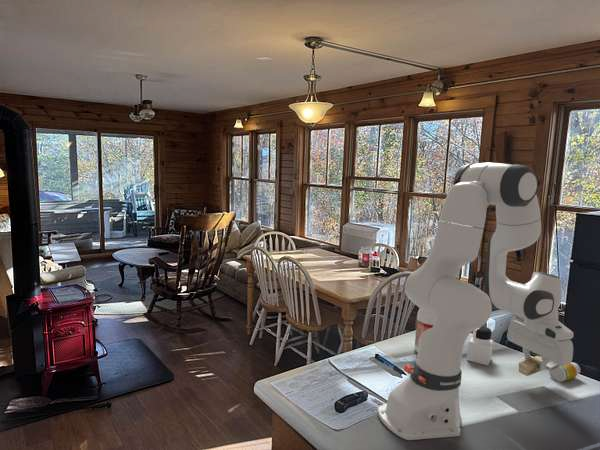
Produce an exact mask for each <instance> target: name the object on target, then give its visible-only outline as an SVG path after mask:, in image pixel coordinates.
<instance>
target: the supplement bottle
mask: <svg viewBox="0 0 600 450" xmlns="http://www.w3.org/2000/svg"><path fill="white" fill-rule="evenodd" d="M580 373H581V367H580V365H579V364H578V363H576V362H571V363H570V364H569V365H565V366H561V367H558V368H556V369H553V370H551V371H550V370H548V374H549V376H550V377H551V379H552V380H555V381H558V382H560V383H563V382H567V381H569V380H572V379H575V378H577V376H578V375H579V374H580Z"/></svg>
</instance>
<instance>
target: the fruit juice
mask: <svg viewBox="0 0 600 450" xmlns="http://www.w3.org/2000/svg"><path fill="white" fill-rule="evenodd" d="M434 322H435V316H434V315H433V314H431V313H429V312H427V311H425V310H423V309H421V308H419V309H418V311H417V315H416V328H415V339H414V350H415V352H416V353H418V346H419V337H420V335H421V334H422V333H423V332H424V331H426V330H428V329H430V328H432V327H433V325H434Z"/></svg>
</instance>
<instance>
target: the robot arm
mask: <svg viewBox="0 0 600 450" xmlns="http://www.w3.org/2000/svg"><path fill="white" fill-rule="evenodd" d="M538 189H539V179H538V176H537V174H536V173H535V171H534V170H533V169H532V167H529V166H526V165H522V164H517V163H516V164H511V163H500V162H495V161H493V162H492V161H490V162H489V161H488V162H471V163H467V164H464V165H462V166H460V167H459V168H458V170H457V171H456V173H455V174H454V179H453V182H452V186H451V187H450V189H449V191H448V192H447V194H446V196H445V199H444V203H443V204H442V208H441V212H440V215H439V218H438V219H439V220H438V223H437V229H436V231H435V236H434V239H433V243H432V244H433V245H432V247H431V249H430V252H429V254H428V256H427V257H426V259H425V261H423V264H422V265H421V266H420V267H418V268H417V269H416V270H414V271H412V272H411V273H409V275H408V276H407V277H406V280H405V283H404V292H405V296H406V297H407V298H408V300H410V301H411V302H412V303H413V304H414V305H415V306H417V307H418V308H419V309H420V308H421V309H423V310H425V311H427V312H429V313H431V314H433V315H434V316H435V322H434V325H433V327H432V328H430V329H428V330H426V331H424V332H423V333H422V334H421V335H420V337H419V346H418V352H417V360H416V361H415V363H414V365H413V366H411V365H410V364H408V363H407V364H404V366H403V371H404V372H405V373H407V374H408V375H409V377H407V378H406V379H405V380H404V381H402V382H401V383H400V384H398V385H397V386H396V387H395V388H394V389H393V390H391V391H390V393H389V395H388V398H387V401H386V403H385V404H382V405H379V406H378V407H377V415H378V417H379V420H380V421H381V422H382V423H383V424H384V426H385V427H387V428H388V429H389V430H390V431H391V432H392V433H393V434H395V435H396V436H398V437H399V438H402V439H404V440H406V441H414V440H416V441H417V440H427V439H439V438H451V437H460V436H461V428H460V427H461V425H462V421H463V420H462V416H461V411H460V410H461V409H460V389H459V388H460V386H461V384H462V369H461V365H462V358H463V351H464V346H465V342H466V340H467V339H468V337H469V335H470V334H471V333H473V330H475V329H478V328H480V327H482V326H484V325H486V324H487V322H488V321H489V320H490V317H491V315H492V309H496V310H499V311H503V312H506V313H509V314H512V316H511V318H510V323H509V326H508V330H507V334H506V338H507V340H508V341H509V342H511V343H512V344H515V345H517V346H519V347H521V348H522V353H523V356H524V361H525V360H528V359H530V358H533V357H532V355H531V352H532V353H534V354H535V355H537V356H539V357H540V356H542V358H541V359H542V360H543V361H542V362H541V363H538V364H537V368H538V369H540V370H541V371H545V370H546V369H545V367H546V364H547V363H548V362H549V361H552V362H554V363H556V364H558V365H560V366H565V365H569V364H570V363H571V362H572V361H573V359H574V358H573V356H574V343H573V342H572V340H571V339H573V338H574V332H573V331H572V330H571V329H570V328H568V327H567V326H565V324H563V323H562V322H560V321H559V308H560V306H561V302H562V293H563V292H562V291H563V290H562V288H563V286H562V280H561V278H560V277H559V276H557V275H555V274H551V273H547V272H542V271H534V272H532V275H531V278H530V280H529V281H527V283H521V282H517V281H514V280H511V279H509V277H508V276H507V275H506V270H507V260H508V259H507V258H508V257H507V256H508V253H509V252H515V251H521V250H523V249H526V248H528V247H530V246H532V245H534V244H535V243H536V242H537V241H538V239H539V238H540V237H541V232H542V219H541V209H540V203H539V199H538V198H539V197H538V196H537V194H538V193H537V192H538ZM490 205H491V206H495V219H496V220H495V221H496V225H495V226H496V228H495V231H494V232H493V233H491V235H490V236H489V238H488V242H487V243H488V244H487V250H486V251H487V252H486V266H485V268H486V269H485V280H484V285H483V288H482V289H480V288H479V287H477V286H475V285H473V284H472V283H468V282H466V281H463V280H460V279H457V277H458V275H459V272H460V270H462V268H463V267H464V266H465V265H467V264H470V263H473V262H474V261H475V260H476V259H477V257H478V255H479V250H480V247H481V243H482V238H483V234H484V229H485V224H486V219H487V209H488V207H489V206H490Z"/></svg>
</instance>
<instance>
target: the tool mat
mask: <svg viewBox="0 0 600 450" xmlns="http://www.w3.org/2000/svg"><path fill="white" fill-rule="evenodd" d="M495 397H496V398H497V399H499V400H500V401H502V402H504V403H505V404H507V405H508V406H509V407H511V408H513V410H516V411H517V412H519V413H520V414H525V413H529V412H533V411H537V410H541V409H545V408H546V409H547V408H549V407H550V408H551V407H554V406H557V405H561V404H565V403H570V402H572V401H571V399H570V400H569V399H568V398H567V397H564V396H563V395H561V394H558V393H557V392H556V391H554V390H551V389H550V388H548V387H546V386H545V385H543V386H542V385H541V386H537V387H531V388H527V389H523V390H519V391H514V392H509V393H505V394H500V395H496V396H495Z"/></svg>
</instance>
